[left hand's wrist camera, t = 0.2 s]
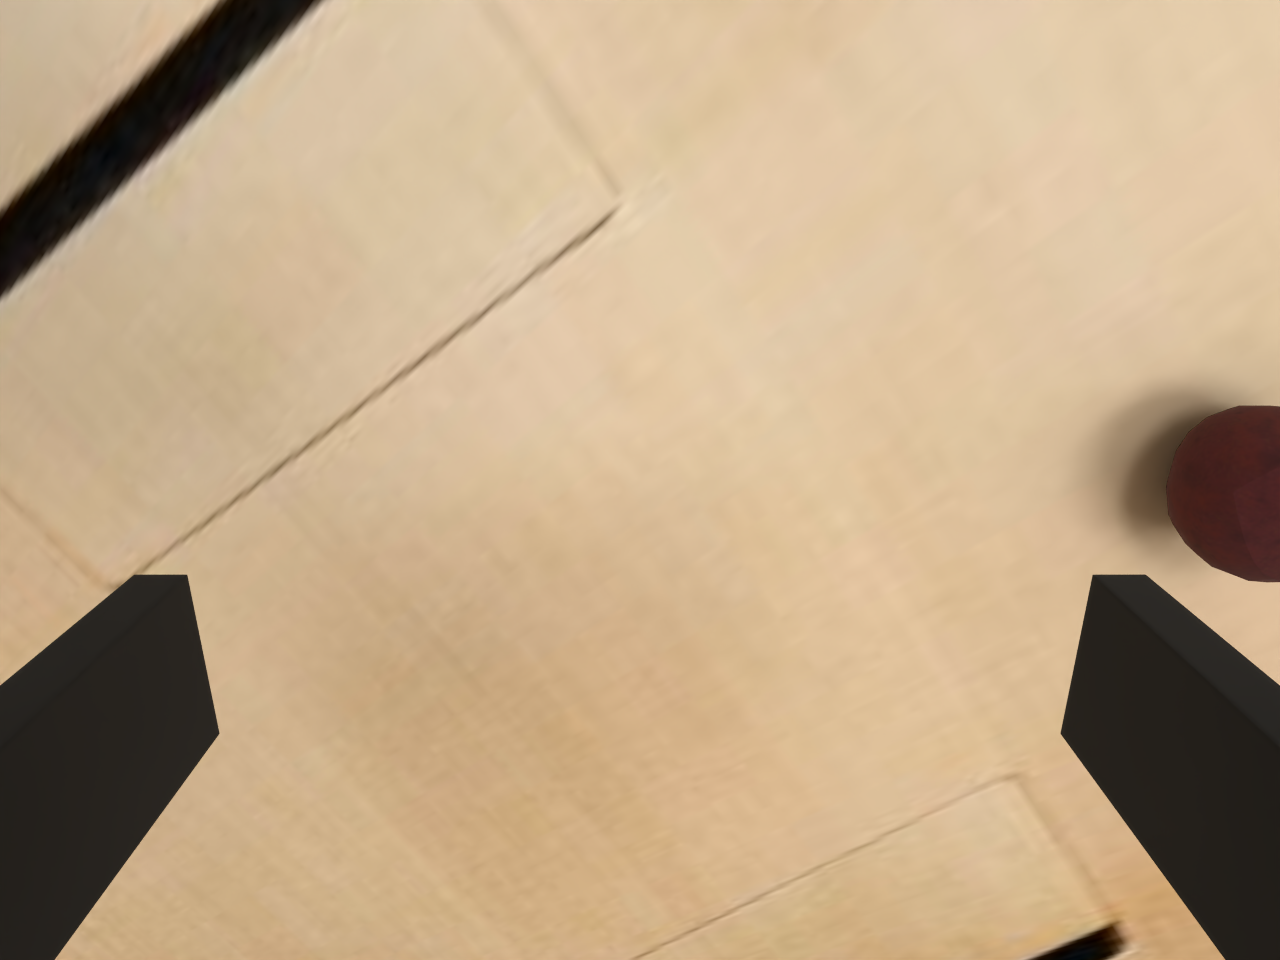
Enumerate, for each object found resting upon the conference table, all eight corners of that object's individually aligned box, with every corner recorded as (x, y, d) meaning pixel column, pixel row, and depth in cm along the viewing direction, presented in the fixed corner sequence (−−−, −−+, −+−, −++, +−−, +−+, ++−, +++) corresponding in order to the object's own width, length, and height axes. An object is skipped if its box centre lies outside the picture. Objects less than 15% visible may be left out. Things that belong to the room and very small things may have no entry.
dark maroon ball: (1169, 564, 43) (1265, 638, 36) (1107, 440, 41) (1197, 494, 34) (1315, 487, 42) (1443, 550, 35) (1259, 354, 39) (1384, 394, 33)
